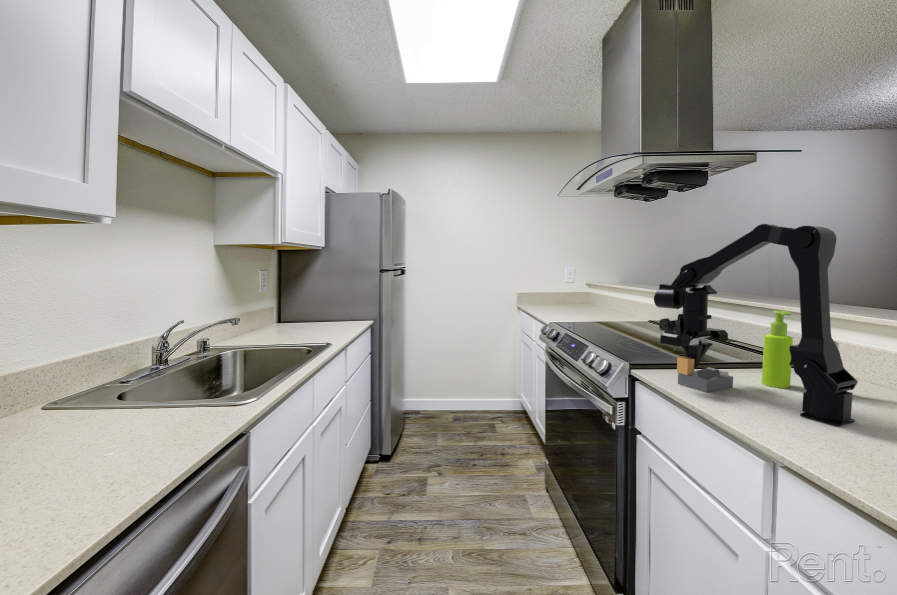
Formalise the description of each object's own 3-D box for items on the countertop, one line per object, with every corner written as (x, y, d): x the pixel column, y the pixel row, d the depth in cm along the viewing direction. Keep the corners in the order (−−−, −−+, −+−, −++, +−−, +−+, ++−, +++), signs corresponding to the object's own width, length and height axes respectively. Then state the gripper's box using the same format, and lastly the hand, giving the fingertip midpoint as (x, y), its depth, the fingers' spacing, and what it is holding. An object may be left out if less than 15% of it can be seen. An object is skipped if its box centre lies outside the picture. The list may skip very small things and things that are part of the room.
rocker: (719, 374, 103) (719, 369, 103) (708, 379, 102) (708, 373, 101) (707, 372, 106) (707, 366, 106) (697, 376, 104) (696, 370, 104)
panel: (732, 387, 105) (733, 371, 105) (706, 392, 102) (707, 375, 101) (703, 380, 113) (703, 365, 113) (677, 383, 109) (678, 368, 109)
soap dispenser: (769, 388, 105) (773, 311, 104) (757, 381, 112) (761, 309, 110) (796, 390, 103) (801, 312, 102) (783, 383, 110) (787, 309, 109)
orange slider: (693, 374, 107) (694, 357, 106) (687, 375, 106) (687, 358, 106) (683, 371, 110) (684, 355, 109) (676, 372, 109) (677, 356, 108)
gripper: (691, 306, 118) (690, 359, 120) (643, 310, 112) (642, 365, 113) (730, 309, 108) (728, 367, 109) (680, 314, 101) (678, 375, 102)
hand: (693, 368), depth 109 cm, fingers closed
